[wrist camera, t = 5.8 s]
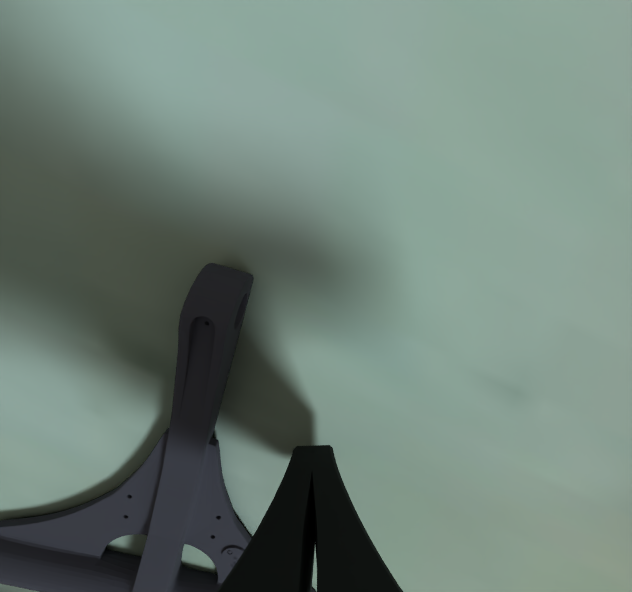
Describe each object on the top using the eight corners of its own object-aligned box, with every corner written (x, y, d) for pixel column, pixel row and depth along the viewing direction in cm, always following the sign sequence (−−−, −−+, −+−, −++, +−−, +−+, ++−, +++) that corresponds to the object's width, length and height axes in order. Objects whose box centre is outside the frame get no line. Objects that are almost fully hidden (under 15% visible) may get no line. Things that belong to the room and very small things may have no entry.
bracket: (435, 323, 10) (476, 357, 8) (314, 609, 14) (313, 703, 11) (28, 199, 10) (-86, 187, 7) (2, 536, 13) (-82, 619, 10)
